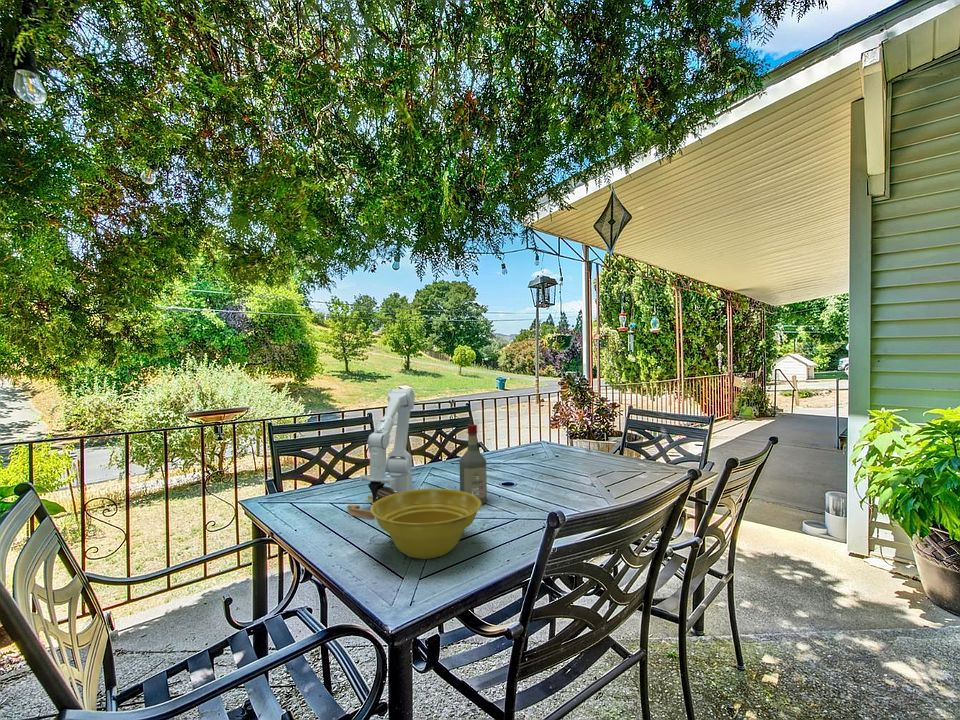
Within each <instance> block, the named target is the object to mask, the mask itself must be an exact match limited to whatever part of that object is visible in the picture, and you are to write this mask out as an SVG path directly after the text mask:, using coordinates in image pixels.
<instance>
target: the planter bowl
mask: <svg viewBox="0 0 960 720" xmlns="http://www.w3.org/2000/svg"><path fill="white" fill-rule="evenodd" d="M482 506H483V505H482V503H481V501H480V499H478V498H477V497H476V496H474V495H472V494H469V493H466V492H462V491H460V490H456V489H450V488H422V489H421V488H419V489H412V490H410V491H404V492H400V493H395V494H392V495H389V496H386V497H384V498H381V499H379V500H378V501H376V502H375V503H372V505H371V506H370V510H369V511H371V513H372V514H373V516H375V517H376V518H375V519H376V522H377V523H378V525H379V527H380V528H381V530H382V531H384V532H385V533H388V534H389V536H390V539H391V540H392V542H393V544H394V545H395V546H396V548H397V549H398V551H399V552H401V553H402V554H404V555H406V556H408V557H409V558H414V559H423V560H425V559H435V558H438V557H442V556H444V555H446V554H448V553H450V551H452V550H454V549H455V547H456V546H457V545H458V543H459V541H460V540H461V538H462V536H463V533H464V532H465V529H468V527H469V526H471V525H472V523H473V522H474V520H475V518H476V516H477V513H478V511H479V510H480V509H481V508H482Z"/></svg>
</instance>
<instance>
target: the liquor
mask: <svg viewBox="0 0 960 720" xmlns="http://www.w3.org/2000/svg"><path fill="white" fill-rule="evenodd" d="M477 434H478V425H477V424H467V443H468V444H467V450H466V451H465V452H464V454H463V455H461V457H460V458H459V491H462V492H466V493H469V494H472V495H474V496H476V497H477V498H478V499H480V501H481V503H482V504H483V505H485V504H486V503H487V501H488V496H487V495H488V491H487V489H488V486H487V483H488V482H487V460H486V458H485V456H483V454H482V453H481V452H480V451H479V448H478V435H477ZM484 503H485V504H484Z"/></svg>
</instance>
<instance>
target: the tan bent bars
mask: <svg viewBox="0 0 960 720" xmlns="http://www.w3.org/2000/svg"><path fill="white" fill-rule="evenodd" d="M368 502H369V503H368ZM367 503H368V504H374V503H373V496H372V494H370V495H367ZM360 507H361V506H360V504H348V505H347V506H346V508H347V510H346V511H347V512H349V513H348V514H349V515H351V516H350V517H353V516H357V517H356V518H360V517H362V518H361V519H366V518H369V519H368V520H374V519H376V518H375V516H373V514H372V513H371V511H370V510H368V509H367V510H366V509H361V508H360Z"/></svg>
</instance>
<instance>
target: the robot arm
mask: <svg viewBox="0 0 960 720" xmlns="http://www.w3.org/2000/svg"><path fill="white" fill-rule="evenodd" d="M415 399H416V395H415V391H414V389H412V388H390V389H389V390H388V393H387V401H388V403H387V406H386V409H385V413H384V415H383V416H381V417H379V420H378V423H377V425H376V427H375V428H374V430H373V431H374V432H372V433H370V434H369V435H368V439H367V446H368V452H369V455H370V457H369V474H361V475H360V476H359V481H360V482H370V483H368V484H367V486H368V488H369V489H370V490H369V491H370V492H371V495H372V496H373V503H372V504H374V500H375V497H376V493H377V490H379V489H380V488H382V487H384V486H386V485H389V488H392V489H393V490H395V491H398V493H400V492H404V491H410V490H413V477H412V475H411V472H412V469H413V459H412V458H413V456H412V454H411V453H409V451H408V450H407V445H408V444H407V443H408V435H409V428H410V427H409V426H410V425H409V424H410V417H411V411H412V410H413V409H414V405H415ZM396 414H397V420H396V428H395V429H396V430H395V437H394V444H393V449H392V450H391V451H389V452H388V453H387V449H388V447H389V444H390V438H391V432H392V429H393V428H394V424H395V422H394V419H395V416H396ZM386 457H387V458H386ZM386 473H387V474H388V476H386Z"/></svg>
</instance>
